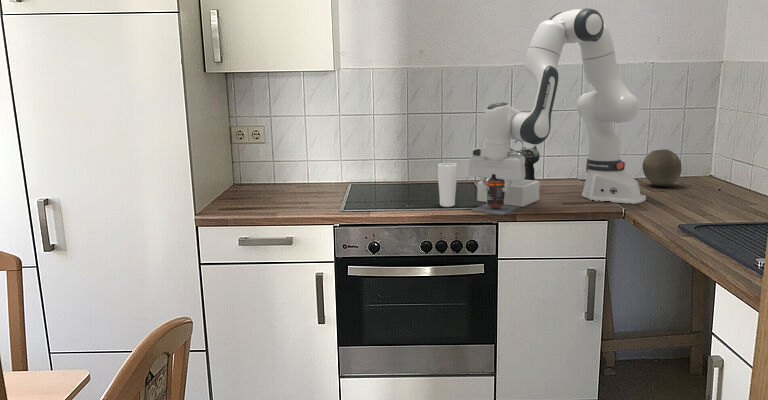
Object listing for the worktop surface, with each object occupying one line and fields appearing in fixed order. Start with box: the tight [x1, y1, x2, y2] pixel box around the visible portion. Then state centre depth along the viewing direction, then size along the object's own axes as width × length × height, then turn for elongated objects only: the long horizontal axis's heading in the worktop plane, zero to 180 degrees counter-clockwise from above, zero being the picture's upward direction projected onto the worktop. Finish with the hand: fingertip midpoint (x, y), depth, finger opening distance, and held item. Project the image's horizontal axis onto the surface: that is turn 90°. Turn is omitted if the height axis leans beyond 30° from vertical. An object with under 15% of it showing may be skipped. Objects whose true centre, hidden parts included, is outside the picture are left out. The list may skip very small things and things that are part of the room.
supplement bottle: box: [486, 174, 505, 207], centre depth 213 cm, size 6×6×11 cm
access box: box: [476, 178, 541, 208], centre depth 228 cm, size 18×14×7 cm
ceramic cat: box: [510, 140, 541, 181], centre depth 247 cm, size 20×6×20 cm, turn 54°
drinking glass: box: [437, 162, 458, 208], centre depth 220 cm, size 7×7×15 cm
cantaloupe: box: [642, 149, 683, 187], centre depth 248 cm, size 14×14×15 cm
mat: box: [471, 203, 520, 216], centre depth 214 cm, size 12×12×1 cm
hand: (495, 191), depth 213 cm, fingers closed on supplement bottle, 6 cm apart
